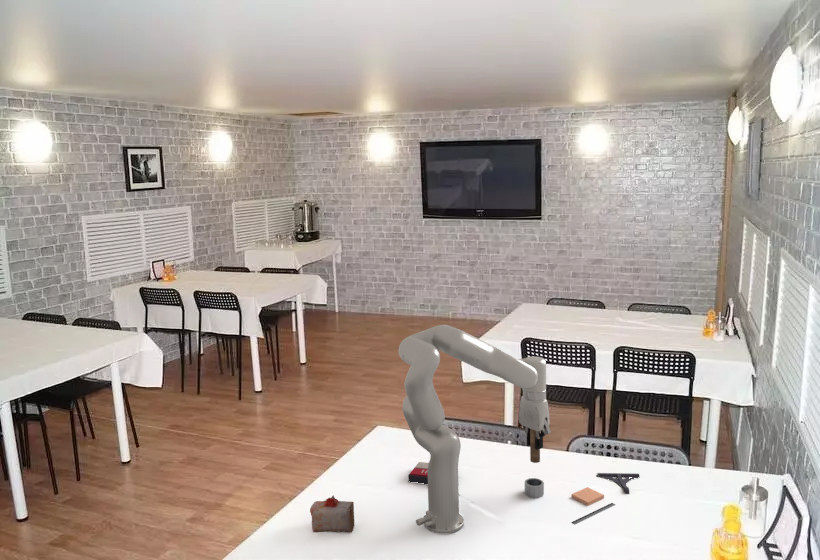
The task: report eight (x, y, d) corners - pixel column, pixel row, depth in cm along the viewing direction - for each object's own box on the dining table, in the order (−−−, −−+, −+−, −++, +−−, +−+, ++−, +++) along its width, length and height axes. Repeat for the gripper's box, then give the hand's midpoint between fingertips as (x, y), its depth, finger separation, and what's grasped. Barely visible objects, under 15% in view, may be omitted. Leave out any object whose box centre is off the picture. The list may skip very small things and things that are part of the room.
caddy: (534, 502, 214) (534, 488, 213) (521, 495, 219) (521, 481, 218) (547, 496, 218) (547, 483, 217) (533, 490, 223) (533, 476, 222)
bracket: (605, 496, 218) (605, 488, 218) (597, 476, 233) (597, 469, 232) (649, 497, 217) (649, 490, 216) (638, 477, 231) (638, 470, 231)
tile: (588, 502, 209) (604, 495, 214) (571, 494, 215) (587, 487, 219) (588, 506, 209) (604, 499, 214) (571, 498, 215) (587, 491, 219)
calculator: (418, 460, 241) (456, 464, 235) (419, 471, 241) (457, 475, 236) (407, 473, 231) (447, 477, 225) (408, 484, 231) (448, 488, 226)
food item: (308, 534, 199) (306, 504, 197) (314, 520, 206) (313, 492, 205) (352, 535, 197) (350, 505, 196) (356, 522, 205) (355, 493, 204)
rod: (535, 463, 214) (535, 423, 212) (528, 460, 217) (527, 421, 215) (542, 461, 216) (541, 421, 214) (535, 457, 219) (534, 418, 216)
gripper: (508, 390, 217) (509, 442, 220) (545, 403, 204) (545, 458, 207) (524, 385, 222) (525, 436, 224) (561, 398, 208) (561, 451, 211)
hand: (534, 446), depth 216 cm, fingers closed on rod, 3 cm apart
